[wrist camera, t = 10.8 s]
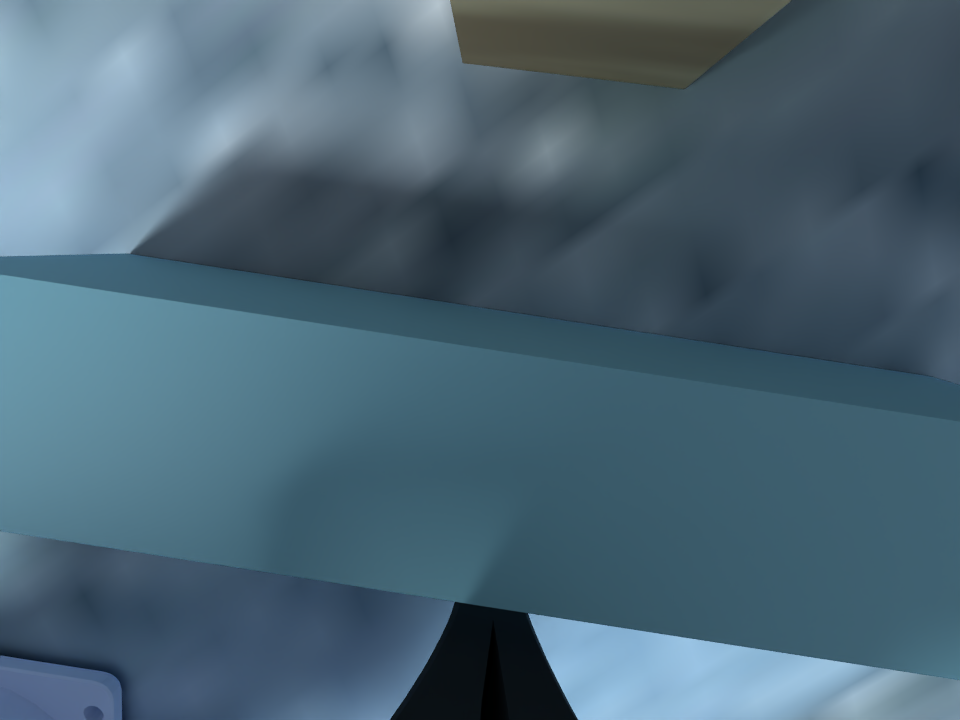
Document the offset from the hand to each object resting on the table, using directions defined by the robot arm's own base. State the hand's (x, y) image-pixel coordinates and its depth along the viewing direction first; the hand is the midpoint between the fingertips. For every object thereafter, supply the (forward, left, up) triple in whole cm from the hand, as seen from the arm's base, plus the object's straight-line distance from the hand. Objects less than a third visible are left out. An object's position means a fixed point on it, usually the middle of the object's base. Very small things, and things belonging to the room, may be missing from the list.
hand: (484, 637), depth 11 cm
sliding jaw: (+4, 0, -2) cm, 5 cm away
